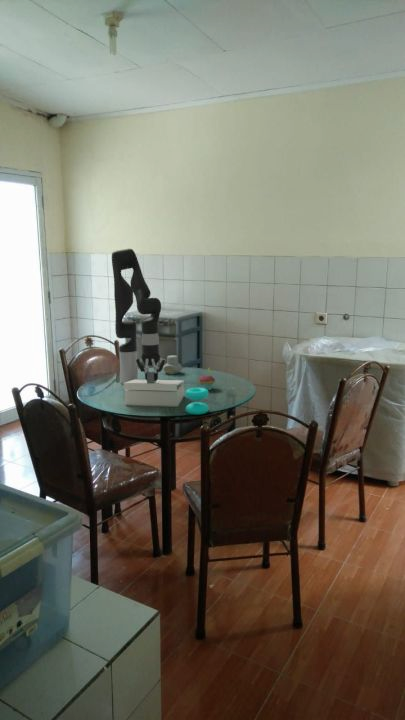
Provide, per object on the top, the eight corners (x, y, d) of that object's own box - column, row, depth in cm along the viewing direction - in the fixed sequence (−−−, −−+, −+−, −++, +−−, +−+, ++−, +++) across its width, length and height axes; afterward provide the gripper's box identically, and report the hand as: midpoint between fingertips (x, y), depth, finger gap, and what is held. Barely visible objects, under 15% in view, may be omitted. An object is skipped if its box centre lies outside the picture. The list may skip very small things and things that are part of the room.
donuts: (186, 393, 215) (184, 387, 224) (186, 416, 217) (184, 409, 226) (210, 392, 216) (206, 386, 226) (210, 414, 218) (207, 408, 228)
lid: (134, 385, 248) (134, 369, 248) (184, 386, 245) (184, 370, 245) (123, 389, 230) (123, 371, 230) (176, 390, 227) (176, 372, 226)
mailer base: (135, 395, 250) (134, 381, 248) (184, 396, 246) (183, 382, 245) (125, 405, 233) (124, 390, 232) (177, 406, 230) (177, 391, 228)
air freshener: (184, 372, 296) (183, 355, 294) (178, 375, 289) (178, 358, 287) (167, 371, 300) (166, 354, 298) (160, 374, 293) (160, 357, 291)
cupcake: (218, 388, 259) (218, 365, 257) (207, 392, 253) (206, 368, 251) (206, 386, 265) (205, 363, 263) (194, 389, 259) (194, 366, 256)
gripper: (167, 341, 231) (168, 379, 234) (137, 341, 233) (138, 378, 236) (164, 344, 224) (165, 383, 227) (132, 344, 226) (134, 382, 229)
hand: (151, 380), depth 232 cm, fingers closed on lid, 3 cm apart
